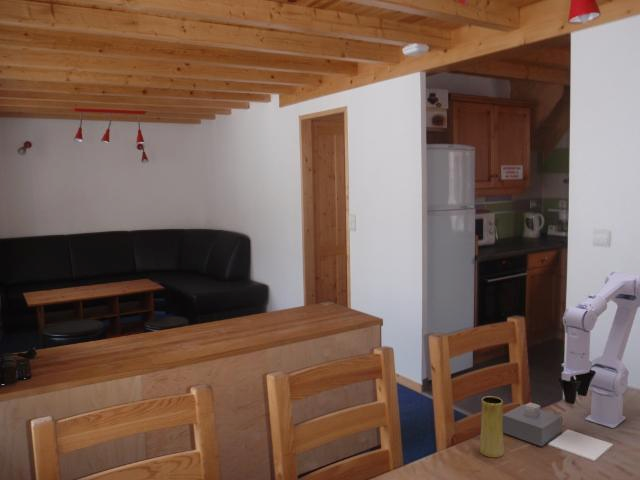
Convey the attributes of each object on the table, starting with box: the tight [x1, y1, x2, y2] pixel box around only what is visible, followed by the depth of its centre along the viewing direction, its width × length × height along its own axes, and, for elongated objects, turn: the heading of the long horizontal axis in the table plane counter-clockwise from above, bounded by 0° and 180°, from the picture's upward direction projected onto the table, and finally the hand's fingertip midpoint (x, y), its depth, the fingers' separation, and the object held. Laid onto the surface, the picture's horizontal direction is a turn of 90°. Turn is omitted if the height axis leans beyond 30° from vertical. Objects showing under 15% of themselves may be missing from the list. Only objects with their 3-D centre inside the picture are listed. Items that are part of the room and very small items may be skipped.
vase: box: [479, 395, 505, 458], centre depth 143 cm, size 6×6×14 cm
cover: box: [503, 402, 563, 447], centre depth 153 cm, size 12×12×8 cm
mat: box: [547, 429, 614, 462], centre depth 146 cm, size 12×12×1 cm
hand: (576, 399), depth 151 cm, fingers open, 7 cm apart
